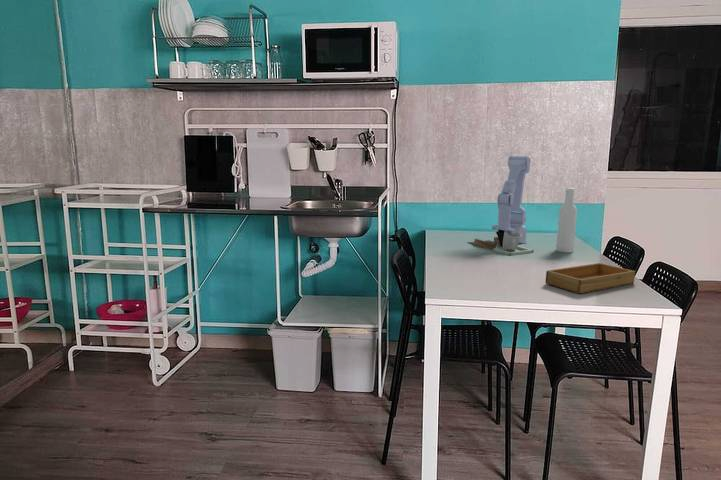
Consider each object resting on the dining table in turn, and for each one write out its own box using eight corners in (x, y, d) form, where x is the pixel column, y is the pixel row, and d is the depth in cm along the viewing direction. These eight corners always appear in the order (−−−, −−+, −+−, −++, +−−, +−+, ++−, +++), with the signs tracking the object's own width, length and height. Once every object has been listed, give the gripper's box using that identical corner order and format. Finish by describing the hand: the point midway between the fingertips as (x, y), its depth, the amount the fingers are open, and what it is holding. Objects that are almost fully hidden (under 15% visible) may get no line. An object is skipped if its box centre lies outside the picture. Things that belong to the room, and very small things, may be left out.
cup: (519, 256, 250) (524, 241, 246) (502, 253, 250) (506, 238, 247) (515, 245, 260) (519, 230, 256) (499, 242, 260) (503, 228, 256)
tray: (598, 275, 213) (599, 261, 212) (633, 284, 200) (635, 270, 199) (544, 285, 198) (546, 270, 197) (579, 296, 185) (581, 280, 184)
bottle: (570, 249, 260) (576, 187, 254) (575, 253, 252) (581, 189, 246) (553, 249, 260) (559, 187, 255) (558, 252, 253) (563, 188, 247)
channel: (495, 242, 274) (496, 236, 273) (515, 247, 262) (515, 241, 261) (474, 244, 267) (474, 239, 267) (493, 250, 255) (493, 244, 255)
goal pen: (516, 248, 261) (516, 245, 261) (533, 252, 251) (533, 250, 251) (493, 250, 255) (493, 248, 254) (510, 255, 245) (510, 252, 245)
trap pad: (488, 240, 279) (488, 240, 278) (495, 242, 274) (495, 241, 274) (467, 242, 272) (467, 242, 272) (473, 244, 268) (473, 244, 268)
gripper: (487, 216, 261) (486, 243, 264) (508, 221, 249) (506, 249, 251) (498, 215, 265) (497, 242, 267) (519, 220, 252) (517, 248, 255)
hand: (502, 246), depth 259 cm, fingers closed
